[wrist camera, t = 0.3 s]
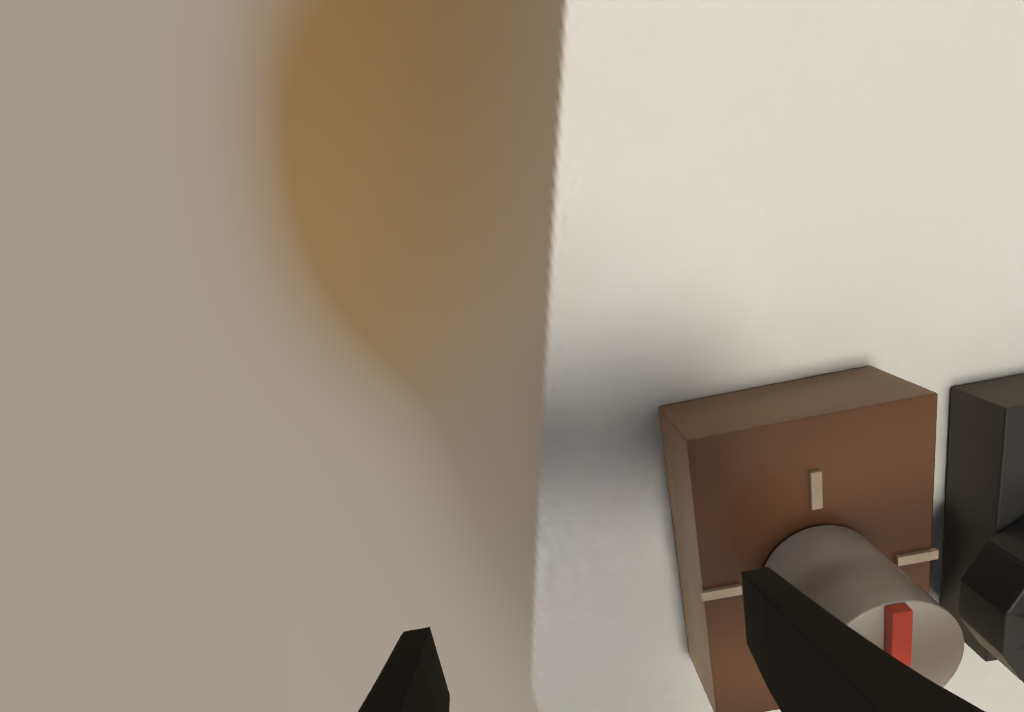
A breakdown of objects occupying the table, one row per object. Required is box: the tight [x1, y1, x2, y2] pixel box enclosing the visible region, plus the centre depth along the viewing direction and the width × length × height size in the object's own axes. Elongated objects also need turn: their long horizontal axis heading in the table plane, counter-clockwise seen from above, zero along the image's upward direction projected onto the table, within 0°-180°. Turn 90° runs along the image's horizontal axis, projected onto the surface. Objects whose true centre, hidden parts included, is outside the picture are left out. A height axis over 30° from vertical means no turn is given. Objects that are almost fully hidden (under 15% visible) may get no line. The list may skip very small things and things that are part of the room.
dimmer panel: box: [659, 366, 939, 712], centre depth 19 cm, size 12×8×3 cm
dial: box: [764, 525, 964, 687], centre depth 16 cm, size 4×4×4 cm
